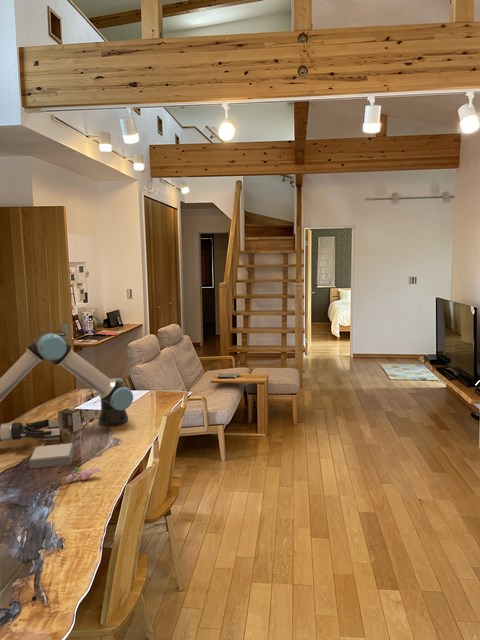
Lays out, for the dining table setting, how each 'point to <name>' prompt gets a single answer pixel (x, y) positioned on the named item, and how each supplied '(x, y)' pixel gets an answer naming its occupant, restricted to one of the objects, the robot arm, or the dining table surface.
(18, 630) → the dining table surface
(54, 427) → the notebook
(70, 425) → the coffee box
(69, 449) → the pedestal
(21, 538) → the dining table surface
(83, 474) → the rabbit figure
